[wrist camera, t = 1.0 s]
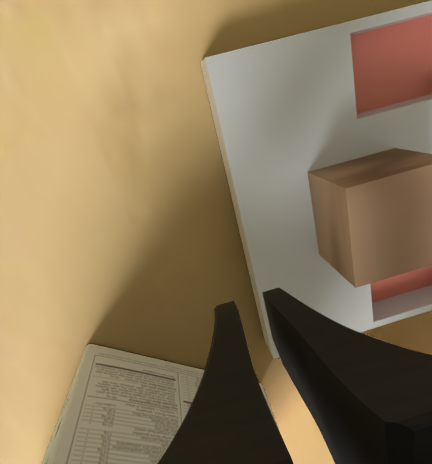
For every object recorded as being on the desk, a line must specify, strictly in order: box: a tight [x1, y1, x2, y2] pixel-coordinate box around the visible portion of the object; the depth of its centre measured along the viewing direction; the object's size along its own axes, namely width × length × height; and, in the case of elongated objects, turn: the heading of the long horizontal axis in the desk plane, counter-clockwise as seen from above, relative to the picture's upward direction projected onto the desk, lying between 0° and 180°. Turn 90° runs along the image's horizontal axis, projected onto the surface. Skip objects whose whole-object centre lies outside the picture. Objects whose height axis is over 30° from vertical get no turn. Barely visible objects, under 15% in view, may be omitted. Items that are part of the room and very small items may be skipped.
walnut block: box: [308, 148, 432, 288], centre depth 17 cm, size 5×5×4 cm
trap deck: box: [200, 0, 432, 359], centre depth 19 cm, size 20×18×5 cm
